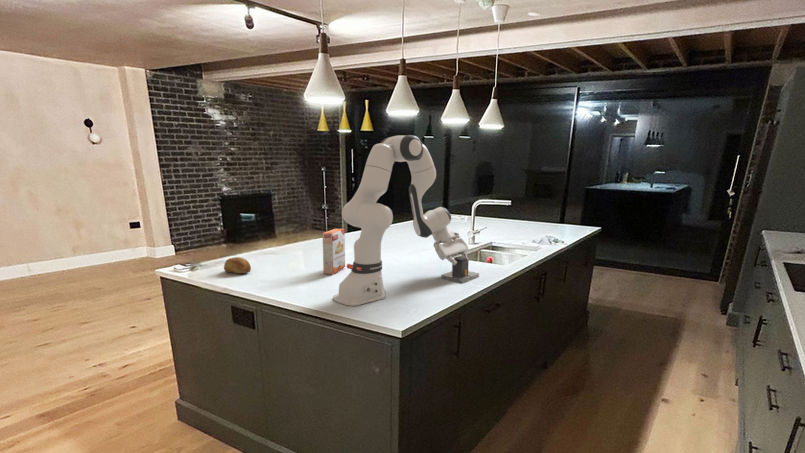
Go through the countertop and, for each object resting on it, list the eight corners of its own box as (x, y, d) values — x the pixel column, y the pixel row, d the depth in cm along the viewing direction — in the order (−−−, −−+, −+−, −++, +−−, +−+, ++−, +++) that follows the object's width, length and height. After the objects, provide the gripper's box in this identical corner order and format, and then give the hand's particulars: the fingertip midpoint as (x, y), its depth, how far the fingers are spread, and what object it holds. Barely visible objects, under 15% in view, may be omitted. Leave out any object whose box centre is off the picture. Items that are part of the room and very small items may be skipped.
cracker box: (334, 275, 194) (332, 233, 190) (323, 274, 196) (321, 232, 192) (346, 267, 207) (345, 228, 204) (335, 266, 209) (334, 228, 205)
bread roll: (241, 277, 192) (240, 261, 191) (218, 274, 198) (217, 258, 196) (255, 272, 201) (254, 256, 199) (233, 269, 206) (232, 254, 205)
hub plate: (462, 283, 180) (462, 269, 179) (441, 277, 188) (441, 264, 187) (478, 276, 191) (479, 263, 189) (458, 271, 199) (458, 259, 197)
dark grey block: (462, 276, 185) (463, 260, 184) (452, 274, 189) (452, 258, 188) (469, 274, 189) (469, 258, 188) (458, 271, 193) (458, 255, 192)
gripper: (435, 239, 183) (452, 263, 178) (460, 232, 198) (477, 254, 193) (428, 247, 187) (444, 270, 182) (453, 240, 202) (469, 262, 197)
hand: (461, 262), depth 188 cm, fingers open, 8 cm apart
